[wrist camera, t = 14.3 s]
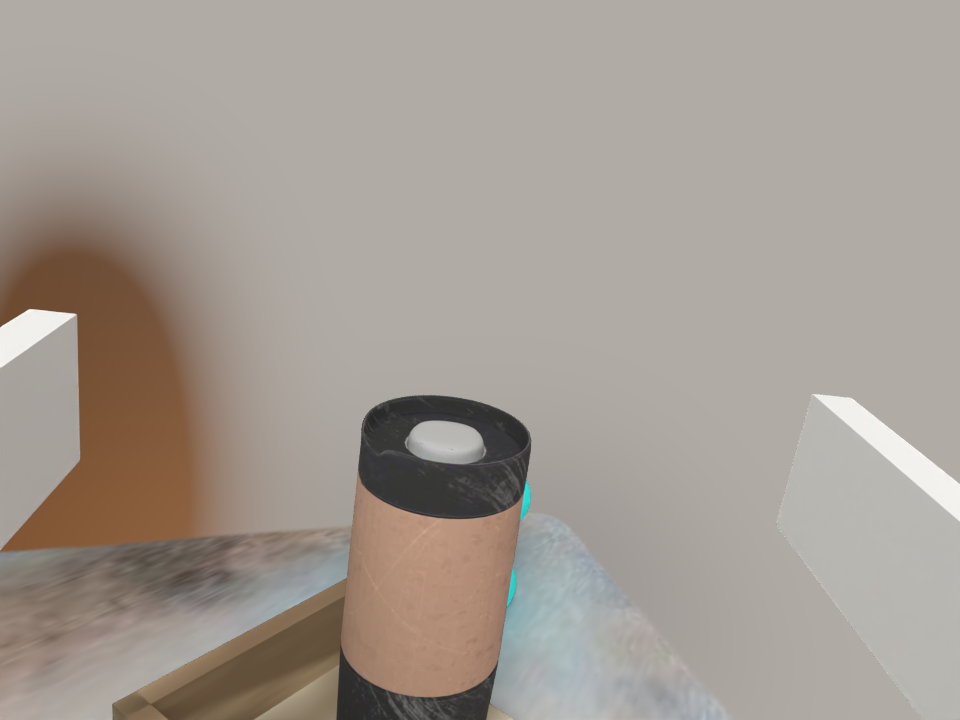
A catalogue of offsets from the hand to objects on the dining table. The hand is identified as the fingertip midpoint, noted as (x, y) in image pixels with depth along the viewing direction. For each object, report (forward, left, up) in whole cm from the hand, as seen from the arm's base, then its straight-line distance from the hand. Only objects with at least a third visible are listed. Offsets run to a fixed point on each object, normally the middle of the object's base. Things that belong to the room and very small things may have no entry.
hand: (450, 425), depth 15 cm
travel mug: (-12, +16, -29) cm, 35 cm away
